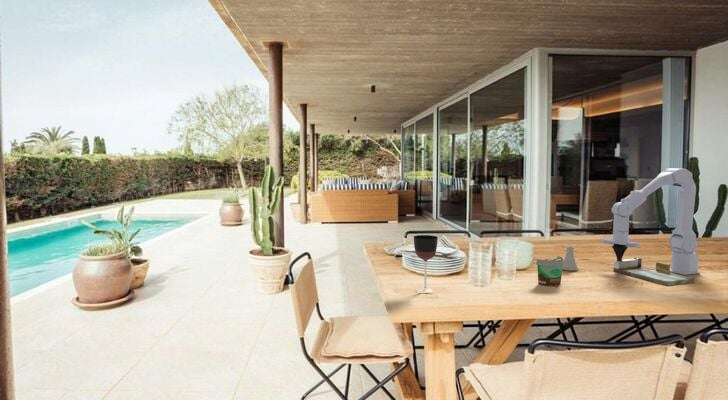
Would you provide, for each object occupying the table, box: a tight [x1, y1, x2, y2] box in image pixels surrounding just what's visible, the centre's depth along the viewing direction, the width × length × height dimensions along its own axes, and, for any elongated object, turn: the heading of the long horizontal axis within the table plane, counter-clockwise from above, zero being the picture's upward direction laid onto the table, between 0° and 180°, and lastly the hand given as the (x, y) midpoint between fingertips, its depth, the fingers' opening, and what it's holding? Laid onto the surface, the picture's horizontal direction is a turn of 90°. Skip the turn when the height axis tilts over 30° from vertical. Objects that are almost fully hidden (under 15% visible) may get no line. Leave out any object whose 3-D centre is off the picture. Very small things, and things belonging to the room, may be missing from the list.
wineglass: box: [413, 234, 439, 292], centre depth 163 cm, size 8×9×20 cm
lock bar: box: [613, 257, 643, 269], centre depth 191 cm, size 14×3×4 cm, turn 111°
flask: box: [562, 245, 579, 272], centre depth 195 cm, size 7×7×10 cm
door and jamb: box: [613, 261, 694, 286], centre depth 182 cm, size 14×24×5 cm, turn 18°
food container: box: [535, 255, 565, 287], centre depth 171 cm, size 12×6×10 cm, turn 117°
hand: (619, 262), depth 191 cm, fingers closed, pressing on lock bar
